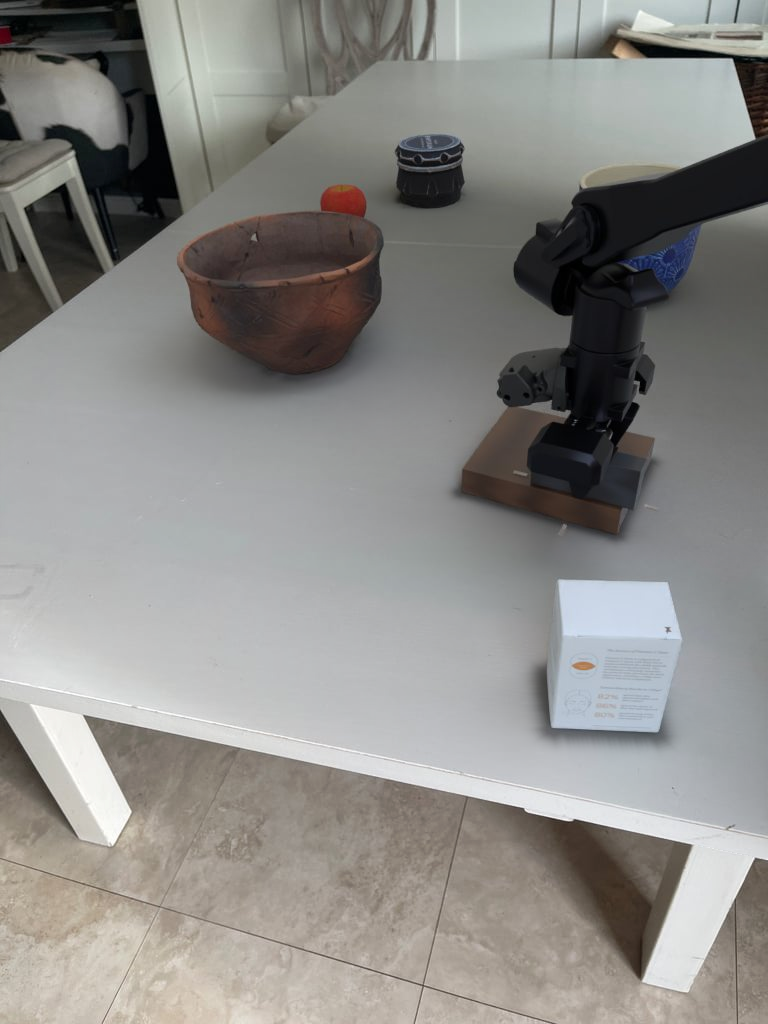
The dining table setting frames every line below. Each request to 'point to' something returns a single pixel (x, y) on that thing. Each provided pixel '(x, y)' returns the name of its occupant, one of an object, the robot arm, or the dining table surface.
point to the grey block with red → (608, 482)
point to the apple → (344, 200)
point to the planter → (670, 260)
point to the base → (507, 477)
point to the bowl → (286, 286)
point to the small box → (611, 654)
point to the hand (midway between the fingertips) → (584, 486)
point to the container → (430, 170)
